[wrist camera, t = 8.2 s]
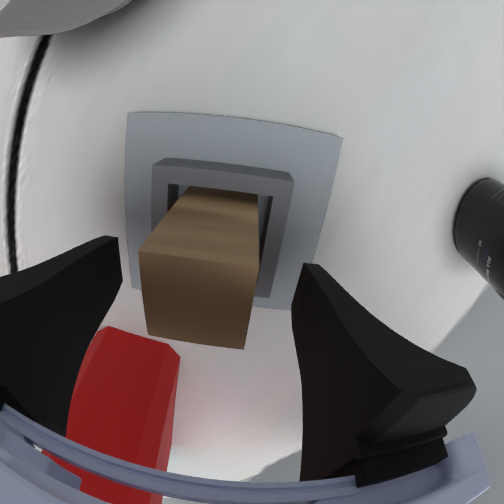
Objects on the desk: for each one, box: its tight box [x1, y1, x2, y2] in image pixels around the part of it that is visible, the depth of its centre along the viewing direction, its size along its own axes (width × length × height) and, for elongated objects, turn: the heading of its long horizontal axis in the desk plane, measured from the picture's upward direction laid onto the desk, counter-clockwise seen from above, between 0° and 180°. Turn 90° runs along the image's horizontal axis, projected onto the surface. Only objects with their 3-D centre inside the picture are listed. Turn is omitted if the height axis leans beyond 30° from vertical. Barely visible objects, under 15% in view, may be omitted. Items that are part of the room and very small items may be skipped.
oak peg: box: [138, 186, 259, 349], centre depth 11 cm, size 4×4×7 cm
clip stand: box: [125, 112, 343, 310], centre depth 14 cm, size 11×11×3 cm
